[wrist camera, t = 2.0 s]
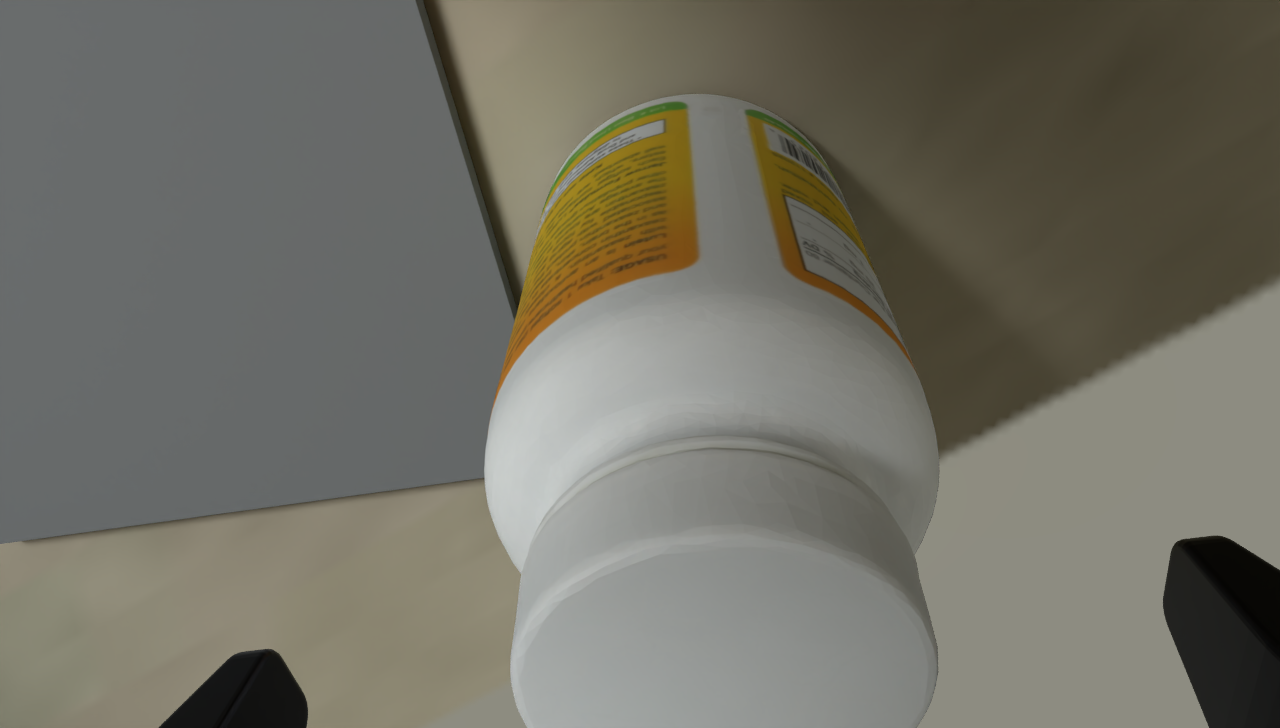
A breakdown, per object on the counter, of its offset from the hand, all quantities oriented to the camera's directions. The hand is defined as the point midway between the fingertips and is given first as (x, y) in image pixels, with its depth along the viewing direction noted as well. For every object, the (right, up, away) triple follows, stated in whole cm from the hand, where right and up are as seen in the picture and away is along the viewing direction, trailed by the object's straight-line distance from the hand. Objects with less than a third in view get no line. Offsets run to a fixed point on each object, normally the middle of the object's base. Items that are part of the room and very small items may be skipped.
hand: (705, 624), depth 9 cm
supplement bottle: (0, +5, +8) cm, 9 cm away
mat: (-10, +4, +8) cm, 13 cm away
